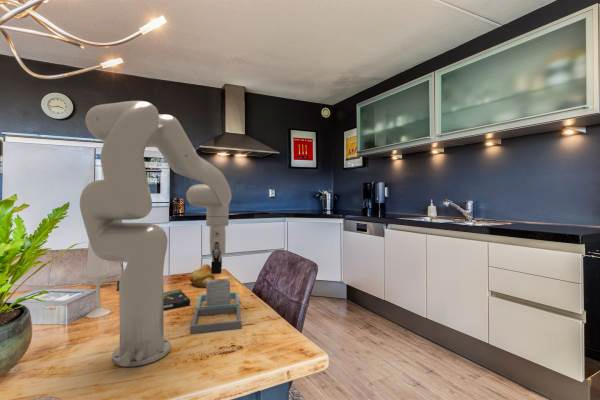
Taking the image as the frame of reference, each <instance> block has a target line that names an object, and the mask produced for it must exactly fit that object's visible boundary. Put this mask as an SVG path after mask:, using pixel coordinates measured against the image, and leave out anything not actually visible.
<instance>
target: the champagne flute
mask: <svg viewBox="0 0 600 400" xmlns="http://www.w3.org/2000/svg"><path fill="white" fill-rule="evenodd" d="M87 248H88V249H87V258H86V266H85V267H86V269H85V278H86V280H88V281H89V282H90V283H92V284H94V285H95V298H96V299H95V305H96V306H95V308H94V309H93V310H92V311H90V312H89V313H87V314H86V315H85V317H86V318H90V319H91V318H93V319H95V318H101V317H104V316H107V315H108V314H110V313H111V310H109V309H105V308H103V307H101V284H102V283H104V282H105V281H106V280H107V279H108V277H109V276H110V274H111V270H110V261H107V260H103V259H100V258H99V257H98V256H96V254H95V253H94V252H93V250H92V248H91V245H90V242H89V241H88V246H87Z"/></svg>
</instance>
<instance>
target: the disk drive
mask: <svg viewBox="0 0 600 400" xmlns="http://www.w3.org/2000/svg"><path fill="white" fill-rule="evenodd" d="M190 306H191V299H190V298H189V297H188V296H187V294H185V293H184V292H183V291H182V290H181V289H177V290H171V291H169V290H168V291H165V292H164V291H163V308H164V311H169V310H175V309H180V308H186V307H190Z"/></svg>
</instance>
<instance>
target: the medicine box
mask: <svg viewBox="0 0 600 400" xmlns="http://www.w3.org/2000/svg"><path fill="white" fill-rule="evenodd" d="M205 290H206V293H205V294H206V306H212V305H224V304H231V299H230V293H231V281H230V279H229V278H222V279H221V278H219V279H214V280H208V281H206V287H205Z"/></svg>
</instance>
